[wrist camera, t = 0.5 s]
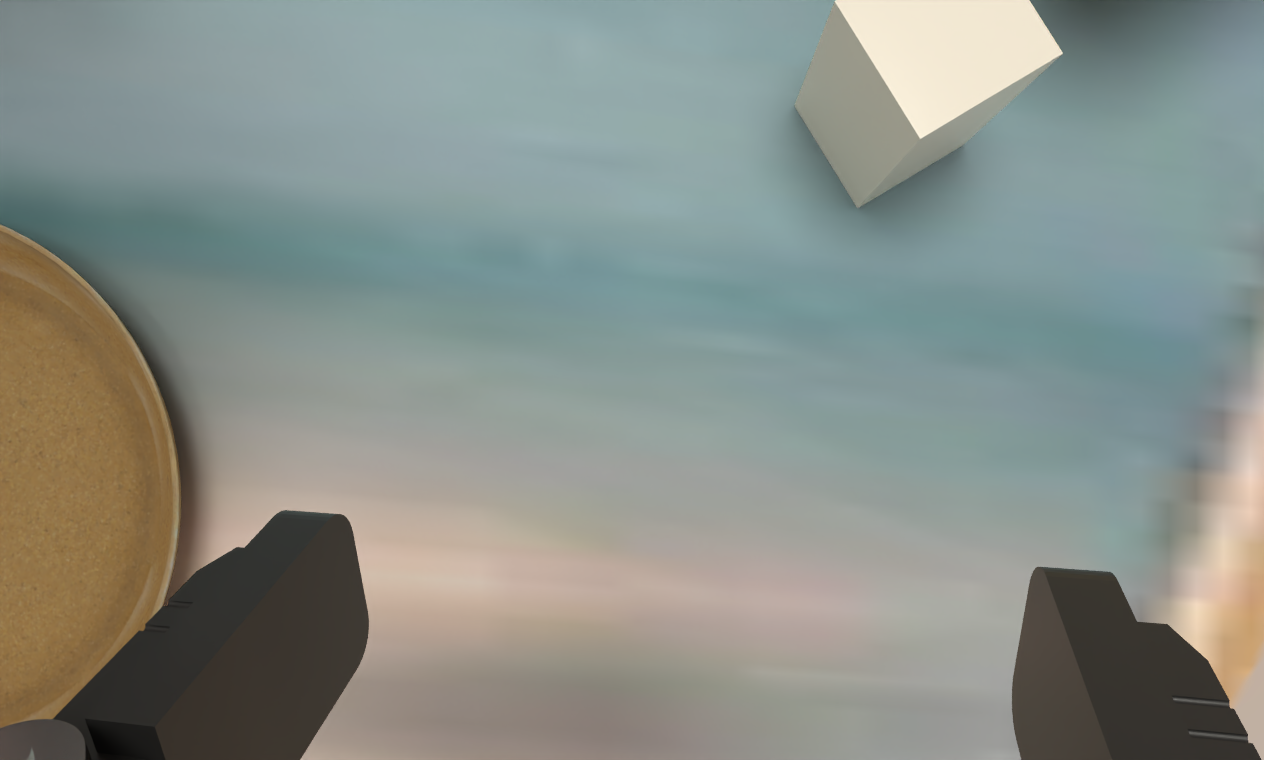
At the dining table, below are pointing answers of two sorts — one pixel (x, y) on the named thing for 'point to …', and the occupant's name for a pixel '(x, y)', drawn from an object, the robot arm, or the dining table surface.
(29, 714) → the plant saucer
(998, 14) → the white square pillar
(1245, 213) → the dining table surface
